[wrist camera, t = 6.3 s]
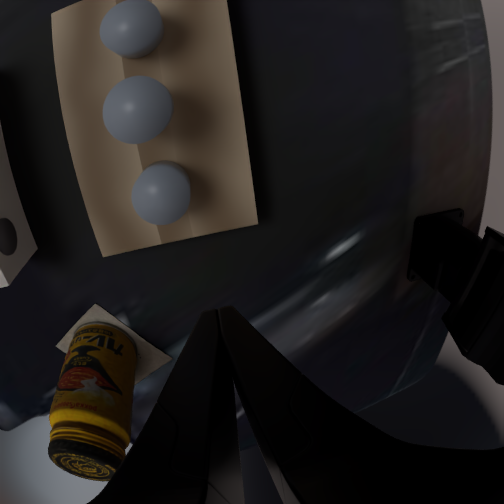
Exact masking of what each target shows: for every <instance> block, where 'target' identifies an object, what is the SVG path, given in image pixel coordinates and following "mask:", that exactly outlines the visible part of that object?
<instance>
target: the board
mask: <svg viewBox="0 0 504 504" xmlns="http://www.w3.org/2000/svg"><path fill="white" fill-rule="evenodd" d="M123 1H126V0H83V1H80V2H78V3H75V4H73V5H70V6H68V7H65V8H63V9H61V10H59V11H56V12H54V13H52V14H51V17H52V36H53V49H54V59H55V68H56V76H57V83H58V90H59V96H60V102H61V108H62V114H63V119H64V124H65V129H66V134H67V138H68V143H69V147H70V151H71V155H72V160H73V163H74V167H75V171H76V175H77V179H78V182H79V186H80V189H81V193H82V196H83V199H84V203H85V206H86V209H87V212H88V215H89V218H90V222H91V225H92V227H93V230H94V233H95V236H96V239H97V242H98V245H99V247H100V250H101V253H102V255H103V257H106V256H110V255H115V254H119V253H123V252H128V251H132V250H137V249H141V248H146V247H150V246H155V245H159V244H164V243H168V242H173V241H178V240H182V239H187V238H192V237H197V236H201V235H206V234H211V233H216V232H221V231H226V230H231V229H236V228H241V227H246V226H251V225H256V224H258V219H257V211H256V204H255V196H254V189H253V181H252V174H251V167H250V159H249V152H248V145H247V137H246V130H245V123H244V116H243V109H242V102H241V95H240V88H239V81H238V74H237V67H236V60H235V53H234V46H233V39H232V33H231V26H230V19H229V12H228V6H227V0H147V1H149V2H151V3H153V4H154V5H155V6H156V7H157V9H158V10H159V13H160V15H161V18H162V21H163V24H164V35H163V38H162V40H161V42H160V44H159V45H158V46H157V48H156V49H154V50H153V51H152V52H151V53H149V54H147V55H145V56H143V57H140V58H134V59H129V58H124V57H121V56H119V55H118V54H116V53H115V52H113V51H111V50H110V49H108V48H107V47H106V46H105V45H104V44H103V42H102V41H101V38H100V25H101V22H102V20H103V18H104V16H105V15H106V14H107V12H108V11H109V10H110V9H111V8H113V7H114V6H115V5H117V4H119V3H121V2H123ZM132 76H148V77H151V78H153V79H155V80H157V81H159V82H160V83H161V84H163V85H164V86H165V87H166V88H167V89H168V90H169V91H170V93H171V95H172V98H173V101H174V112H173V116H172V119H171V121H170V123H169V124H168V126H167V127H166V128H165V129H164V130H163V131H162V132H161V133H160V134H158V135H157V136H156V137H155V138H153V139H151V140H149V141H147V142H144V143H140V144H128V143H124V142H121V141H119V140H117V139H116V138H114V137H113V136H112V135H111V134H110V133H109V131H108V130H107V128H106V126H105V124H104V120H103V105H104V101H105V99H106V97H107V95H108V93H109V92H110V90H111V89H112V88H113V87H114V86H115V85H116V84H117V83H119V82H120V81H122V80H124V79H126V78H129V77H132ZM163 160H166V161H172V162H174V163H177V164H178V165H180V166H181V167H182V168H183V169H184V170H185V171H186V173H187V174H188V177H189V180H190V203H189V206H188V209H187V211H186V212H185V214H184V215H183V216H182V217H181V218H180V219H178V220H177V221H175V222H173V223H171V224H167V225H155V224H151V223H149V222H147V221H145V220H143V219H142V218H141V217H140V216H139V215H138V214H137V213H136V211H135V209H134V207H133V204H132V198H131V195H132V189H133V186H134V184H135V182H136V180H137V179H138V177H139V176H140V175H141V173H142V172H143V170H144V169H145V168H146V167H147V166H149V165H150V164H152V163H154V162H157V161H163Z"/></svg>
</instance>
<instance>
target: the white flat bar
mask: <svg viewBox="0 0 504 504" xmlns="http://www.w3.org/2000/svg"><path fill="white" fill-rule="evenodd" d="M37 249H38V248H37V245H36V243H35V240H34V238H33V235H32V233H31V230H30V227H29V225H28V222H27V219H26V216H25V213H24V211H23V208H22V205H21V202H20V198H19V195H18V192H17V189H16V185H15V182H14V178H13V175H12V171H11V167H10V164H9V160H8V155H7V151H6V147H5V142H4V137H3V132H2V127H1V122H0V288H2V287H6V286H9V285H10V283H11V282H12V281H13V279H14V278H15V277H16V275H17V274H18V273H19V271H20V270H21V269H22V268H23V266H24V265H25V264H26V263H27V261H28V260H29V259H30V258H31V256H32V255H33V254H34V253H35V251H36V250H37Z"/></svg>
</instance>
